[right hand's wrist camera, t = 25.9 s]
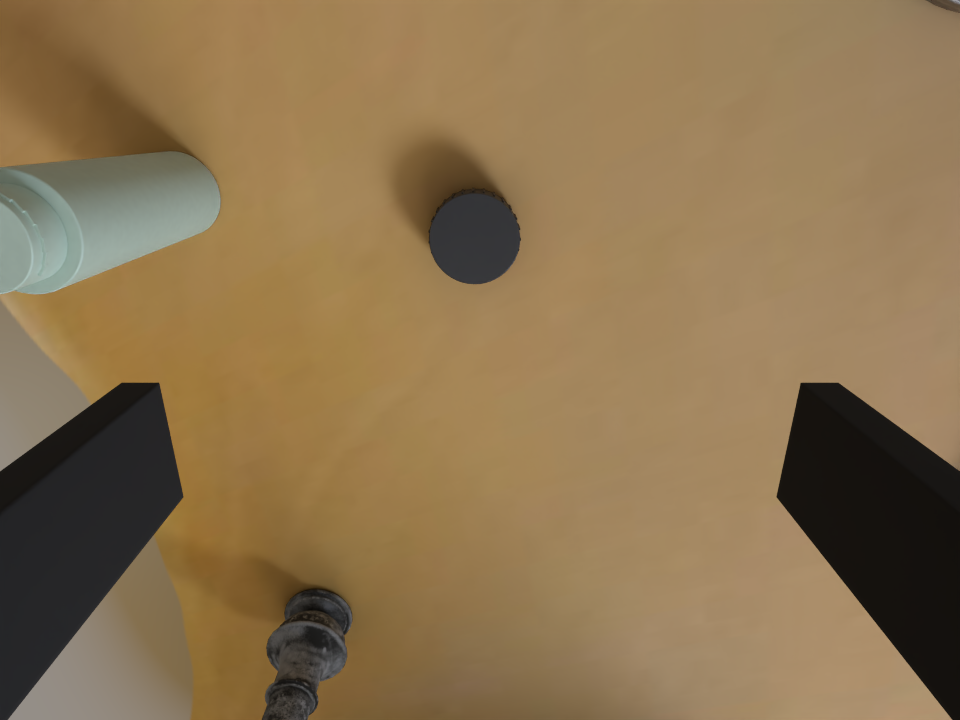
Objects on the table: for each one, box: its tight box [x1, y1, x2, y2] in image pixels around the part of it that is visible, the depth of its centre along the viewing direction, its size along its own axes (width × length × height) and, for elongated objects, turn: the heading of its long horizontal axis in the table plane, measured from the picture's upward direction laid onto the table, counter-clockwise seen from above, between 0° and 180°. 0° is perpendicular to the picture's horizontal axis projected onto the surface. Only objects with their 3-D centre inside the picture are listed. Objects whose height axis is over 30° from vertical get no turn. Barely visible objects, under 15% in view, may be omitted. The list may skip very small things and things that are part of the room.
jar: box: [0, 151, 220, 294], centre depth 29 cm, size 5×5×16 cm
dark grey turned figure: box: [262, 590, 352, 720], centre depth 42 cm, size 6×6×12 cm
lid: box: [429, 188, 521, 284], centre depth 36 cm, size 5×5×2 cm
